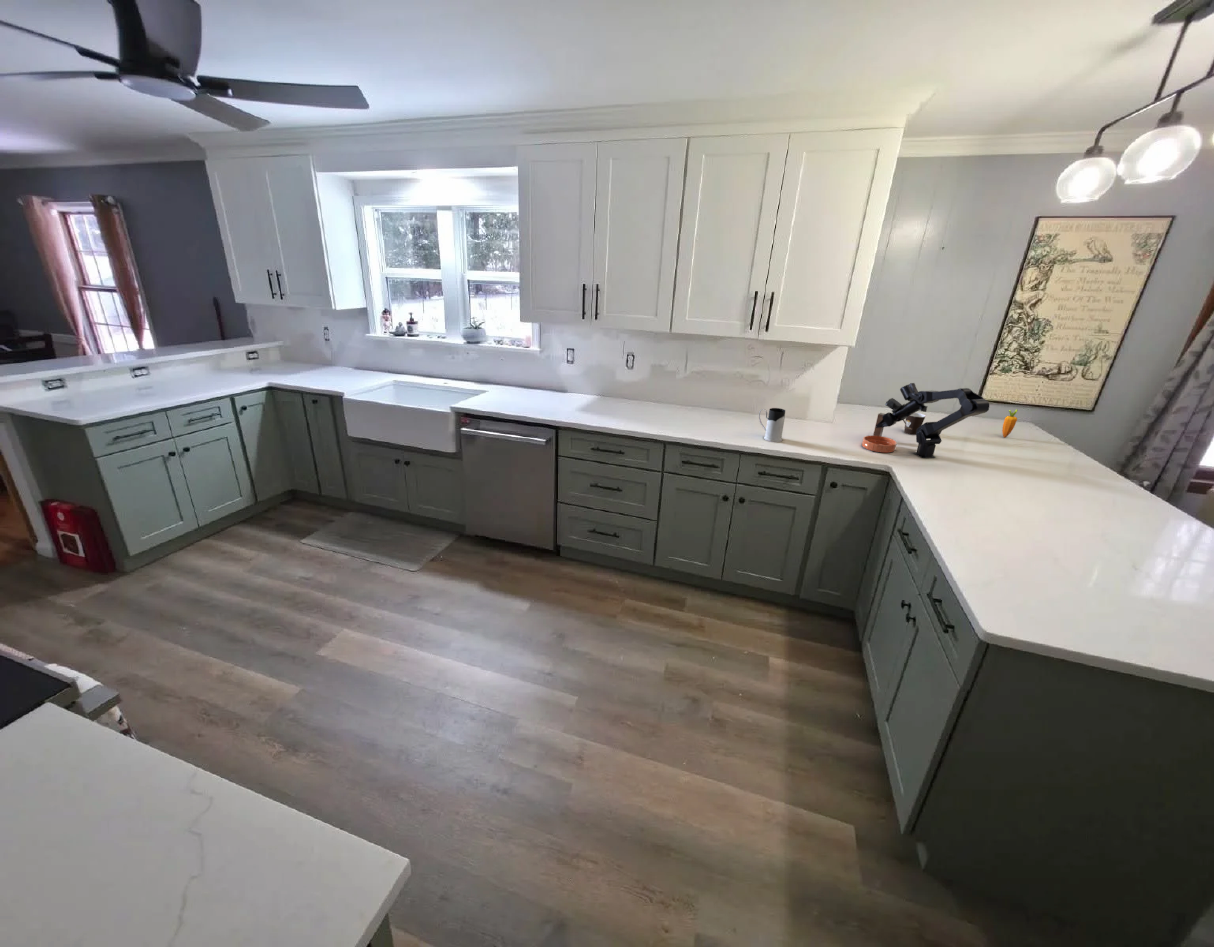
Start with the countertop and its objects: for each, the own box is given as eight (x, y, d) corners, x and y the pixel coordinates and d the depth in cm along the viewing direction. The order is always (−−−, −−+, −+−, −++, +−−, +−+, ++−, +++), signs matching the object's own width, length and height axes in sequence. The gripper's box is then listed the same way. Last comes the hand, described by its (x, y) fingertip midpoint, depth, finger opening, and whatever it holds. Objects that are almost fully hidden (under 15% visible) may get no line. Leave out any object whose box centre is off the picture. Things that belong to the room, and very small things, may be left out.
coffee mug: (923, 436, 254) (928, 417, 251) (904, 435, 256) (909, 416, 252) (915, 429, 265) (919, 411, 261) (897, 428, 267) (902, 410, 263)
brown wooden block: (882, 440, 248) (888, 414, 243) (878, 441, 246) (885, 415, 241) (873, 438, 251) (880, 412, 246) (870, 439, 249) (876, 413, 243)
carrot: (999, 438, 253) (1009, 409, 247) (997, 435, 257) (1007, 407, 251) (1011, 439, 251) (1021, 411, 245) (1009, 437, 255) (1019, 408, 249)
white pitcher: (775, 443, 242) (780, 413, 236) (751, 435, 252) (755, 407, 246) (785, 439, 247) (790, 410, 241) (761, 432, 257) (765, 404, 251)
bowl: (901, 452, 232) (903, 444, 231) (873, 454, 230) (875, 446, 229) (881, 442, 245) (883, 434, 243) (855, 443, 243) (857, 436, 241)
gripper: (907, 391, 241) (878, 408, 253) (891, 397, 230) (862, 415, 242) (920, 410, 239) (890, 426, 251) (905, 417, 227) (875, 434, 239)
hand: (879, 425), depth 246 cm, fingers open, 9 cm apart
